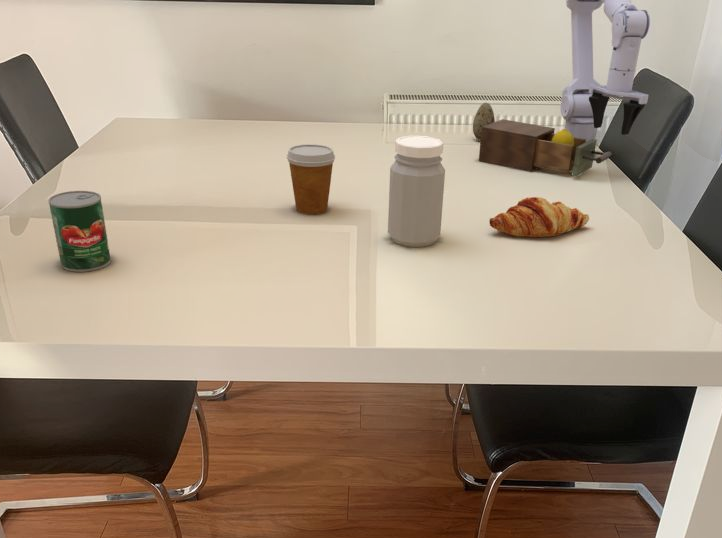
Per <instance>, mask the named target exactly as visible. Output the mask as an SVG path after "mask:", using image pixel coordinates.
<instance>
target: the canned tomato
mask: <svg viewBox="0 0 722 538" xmlns="http://www.w3.org/2000/svg"><path fill="white" fill-rule="evenodd" d="M48 204H49V211H50V215H51V220H52V226H53V230H54V235H55V241H56V242H55V243H56V246H57V251H58V257H59V260H60V266H61V268H62V269H63V270H65V271H69V272H73V273H86V272H93V271H98V270H101V269H103V268H105V267H107V266H109V265H110V264H111V261H112V258H111V253H110V246H109V240H108V234H107V229H106V220H105V216H104V209H103V203H102V196H101V195H100V194H99V193H98V192H95V191H91V190H90V191H89V190H72V191H70V190H69V191H63V192H60V193H57V194H54V195H52V196H50V197H49V198H48Z"/></svg>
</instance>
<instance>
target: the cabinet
mask: <svg viewBox="0 0 722 538" xmlns="http://www.w3.org/2000/svg"><path fill="white" fill-rule="evenodd" d="M555 130H556V128H555V127H551V126H545V125H538V124H532V123H528V122H523V121H522V122H520V121H516V120H509V119H503V118H501V119H500V120H497V121H496V120H495V122H494V123H491V124H488V125H486V126H483V127H482V131H481V141H479V143H480V144H479V154H478V162H480V163H486V164H491V165H497V166H500V167H505V168H510V169H516V170H520V171H526V172H530V173H531V172H534V171H536V170H537V169H539V168H540V167H535V166H533V163H534V156H535V148H536V141H537V139H538V138H540V137H542V136H544V135H547V134H549V133H554V134H555Z"/></svg>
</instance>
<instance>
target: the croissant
mask: <svg viewBox="0 0 722 538" xmlns="http://www.w3.org/2000/svg"><path fill="white" fill-rule="evenodd" d="M589 221H590V216H589V214H586V213H585V214H584V213H583V212H582V211H581V210H580V209H578V208H576V207H575V208H571V207H570V206H567V205H565V203H562V201H555V202H552V203H551V202H550V201H548V200H547V199H546V198H545V197H539V196H531V197H526V198H522V199H521V200H519V201H518V202H517V204H516V205H514V206H510V207H509V208H508V209H506V212H501V213H498V214H497V215H496V216H494V217H491V218H489V226H490V227H491V228H493V229H494V230H497V232H502V233H506V234H507V235H510V236H515V237H529V238H541V237H554V236H558V235H562V234H563V233H568V232H572V231H573V230H575V229H580V228H582V227H584V226H585V225H587V224H588V222H589Z"/></svg>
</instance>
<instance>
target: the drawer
mask: <svg viewBox="0 0 722 538" xmlns="http://www.w3.org/2000/svg"><path fill="white" fill-rule="evenodd" d="M555 134H556V133H555V132H554V133H549V134H547V135H544V136H542V137H540V138H538V139H537V141H536V148H535V156H534V163H533V166H535V167H539V168H541V169H546V170H551V171H556V172H561V173H564V174H565V173H566V174H569V173H571V172H572V173H571V176H572V177H578V176H580V175H583V174H584V173H585V172H587V171H589V170H591V169H592V167H593V165H594V162H596V164H601V163H603V162H605V161H607V160H608V159H610V158H611V157H612V155H613V153H612V152H611V151H606V152H604V151H597V150H596V147H597V141H598V140H597V139H596V138H595V139H591V140H589V141H587V142H586V139H583V138H577V137H573V138H574V146H573V145H567V144H562V143H556V142H551V141H552V138H553V136H554V135H555ZM573 147H574V149H573ZM594 154H595V155H599V156H597V157H595V155H594Z"/></svg>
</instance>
